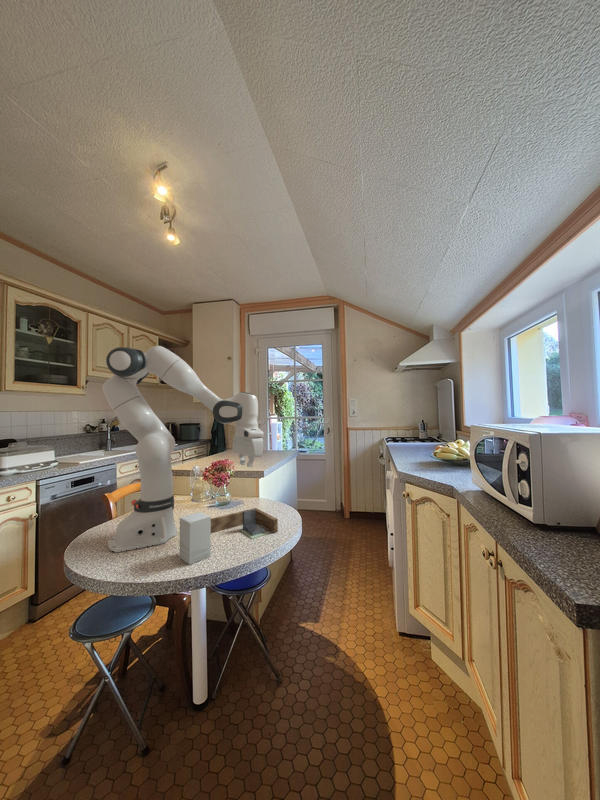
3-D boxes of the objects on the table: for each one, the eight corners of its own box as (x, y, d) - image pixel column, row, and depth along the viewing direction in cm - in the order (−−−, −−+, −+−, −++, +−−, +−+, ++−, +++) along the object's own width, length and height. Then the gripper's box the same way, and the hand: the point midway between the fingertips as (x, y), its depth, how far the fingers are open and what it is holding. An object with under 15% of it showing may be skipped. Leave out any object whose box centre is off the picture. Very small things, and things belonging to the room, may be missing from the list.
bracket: (264, 532, 110) (264, 513, 110) (252, 536, 107) (252, 516, 107) (253, 526, 116) (253, 508, 116) (242, 529, 113) (242, 511, 113)
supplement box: (211, 556, 92) (211, 516, 93) (188, 565, 87) (189, 523, 88) (200, 549, 97) (200, 511, 98) (178, 557, 92) (179, 517, 93)
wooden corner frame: (223, 549, 97) (223, 534, 97) (205, 533, 110) (205, 520, 111) (277, 532, 110) (277, 519, 111) (255, 519, 124) (255, 507, 124)
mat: (252, 539, 105) (252, 538, 105) (239, 530, 113) (239, 529, 113) (268, 533, 109) (268, 533, 109) (255, 525, 117) (255, 525, 117)
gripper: (229, 430, 125) (228, 462, 124) (251, 433, 108) (250, 470, 108) (242, 430, 128) (241, 461, 128) (266, 433, 112) (265, 468, 111)
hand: (246, 465), depth 117 cm, fingers open, 5 cm apart
